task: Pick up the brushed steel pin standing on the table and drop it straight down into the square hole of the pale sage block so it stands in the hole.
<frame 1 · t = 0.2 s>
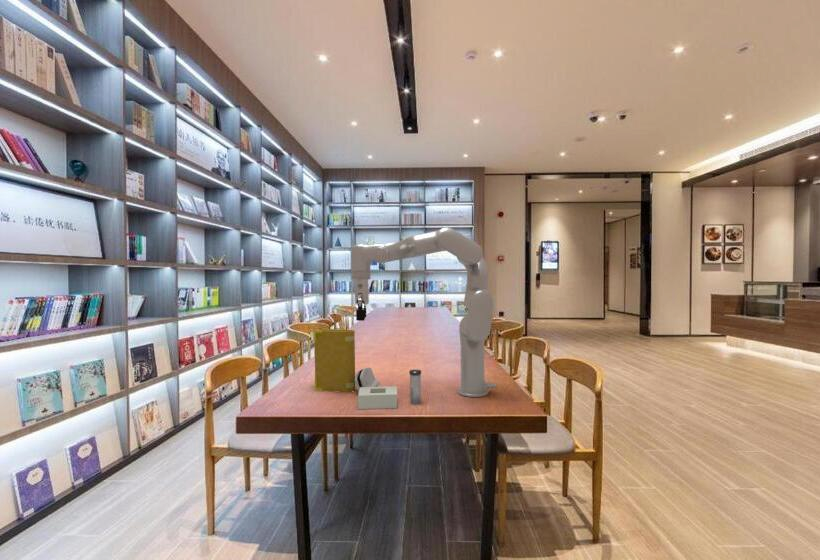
hand: (361, 319, 150), 31 cm above the table, tool pointing down, fingers open, 9 cm apart
book: (336, 389, 160), on the table
pin: (415, 402, 142), on the table
socket block: (378, 404, 141), on the table
hinge: (367, 390, 159), on the table
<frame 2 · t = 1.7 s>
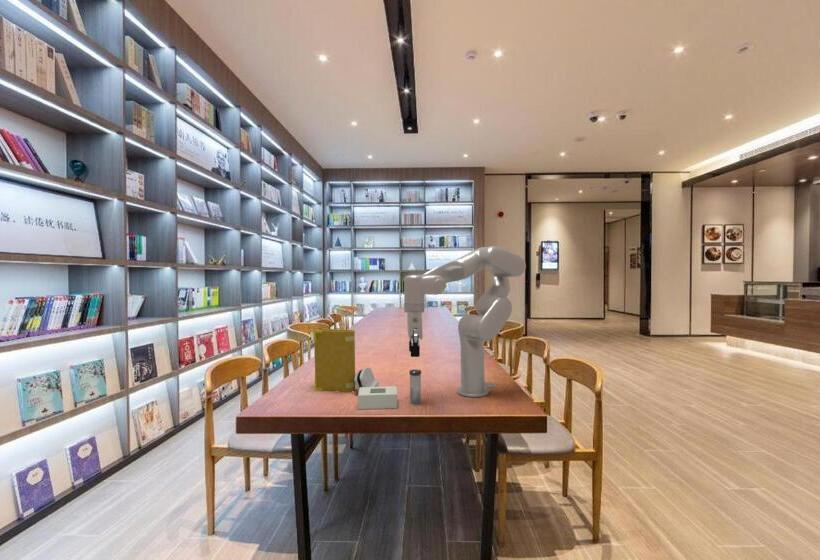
hand: (414, 354, 141), 18 cm above the table, tool pointing down, fingers open, 9 cm apart
nothing on the table moved.
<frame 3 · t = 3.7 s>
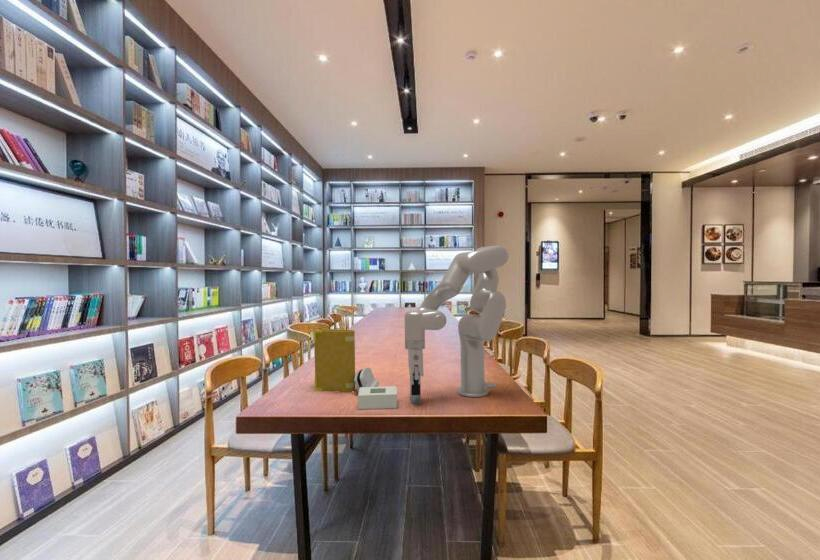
hand: (415, 392, 142), 4 cm above the table, tool pointing down, fingers closed on pin, 4 cm apart
pin: (415, 402, 142), on the table, touching gripper
everything else where it was.
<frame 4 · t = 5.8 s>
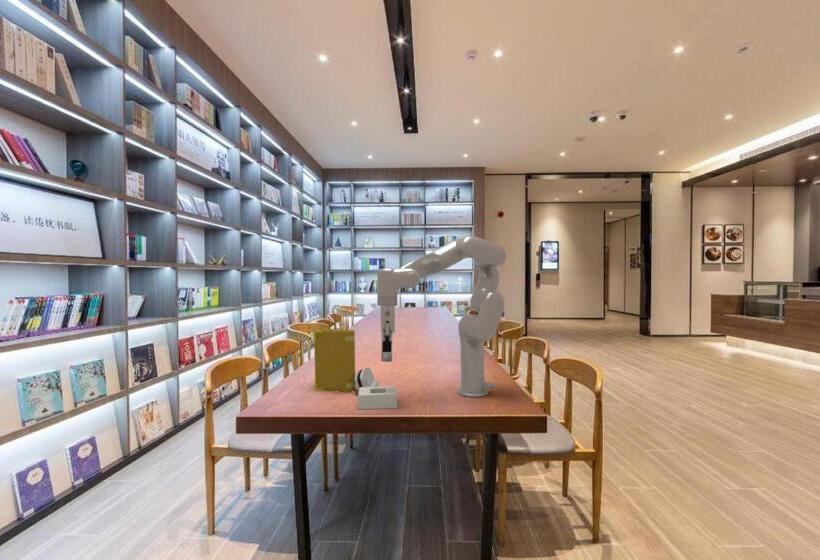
hand: (386, 350, 141), 20 cm above the table, tool pointing down, fingers closed on pin, 4 cm apart
pin: (386, 360, 141), point 16 cm above the table, touching gripper
everything else where it was.
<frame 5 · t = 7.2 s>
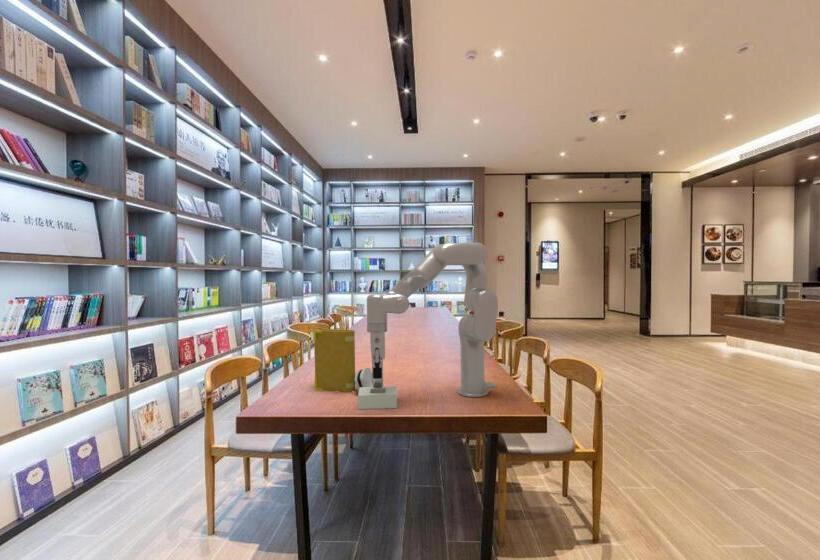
hand: (377, 376, 141), 10 cm above the table, tool pointing down, fingers closed on pin, 4 cm apart
pin: (377, 386, 141), point 7 cm above the table, touching gripper
everything else where it was.
when the fingers open (6 cm above the table, at t = 8.4 s): pin drops 2 cm, resting in socket block.
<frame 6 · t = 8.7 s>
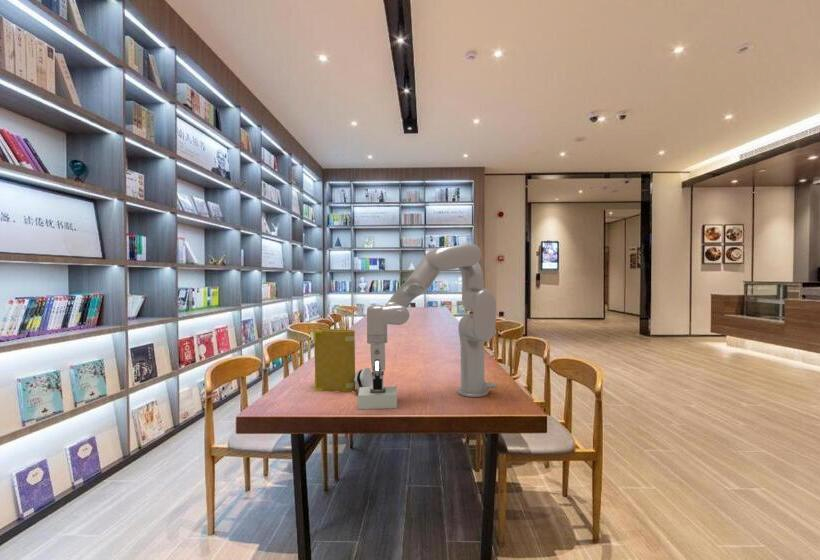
hand: (377, 386, 141), 7 cm above the table, tool pointing down, fingers open, 6 cm apart
pin: (378, 403, 141), resting in socket block
everything else where it was.
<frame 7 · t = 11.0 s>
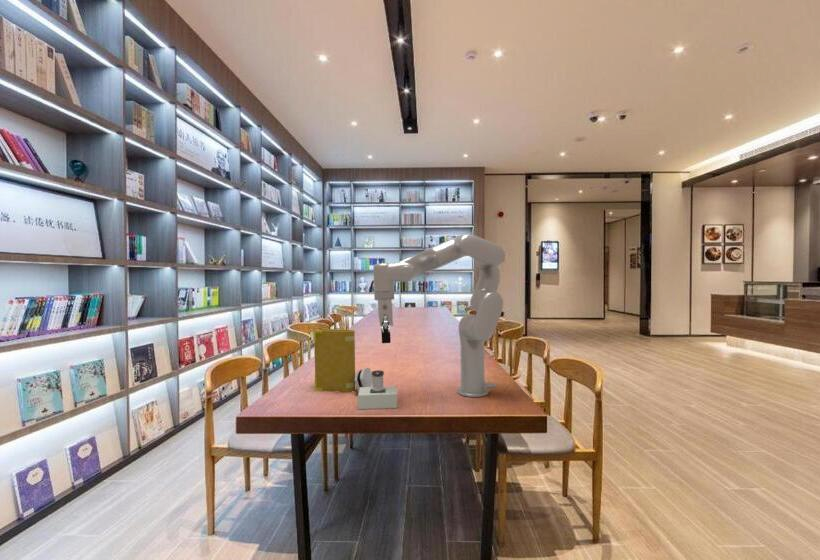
hand: (386, 340, 144), 23 cm above the table, tool pointing down, fingers open, 9 cm apart
nothing on the table moved.
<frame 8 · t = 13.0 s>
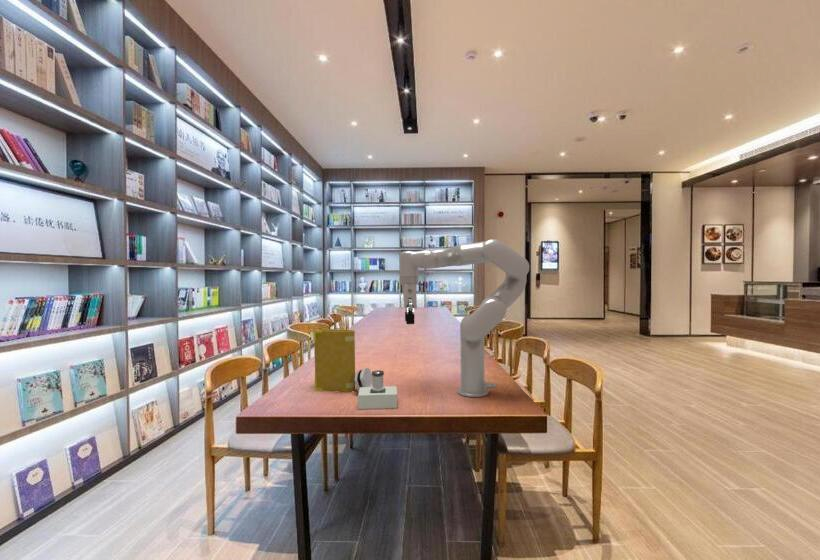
hand: (409, 322, 156), 28 cm above the table, tool pointing down, fingers open, 9 cm apart
nothing on the table moved.
at the end: pin 0.1 cm off-centre on the socket block, point 0.0 cm above the socket block's base; pin tilted 0°; the gripper is holding nothing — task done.
